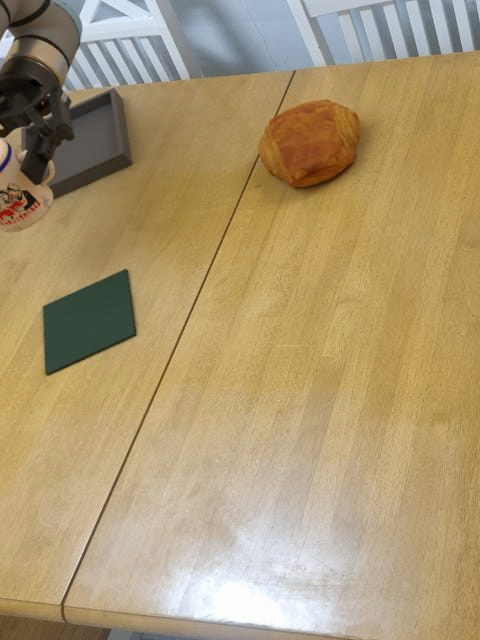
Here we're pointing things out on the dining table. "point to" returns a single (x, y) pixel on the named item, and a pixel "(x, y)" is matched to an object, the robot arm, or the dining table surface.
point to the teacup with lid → (21, 192)
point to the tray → (88, 143)
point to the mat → (88, 321)
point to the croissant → (310, 142)
